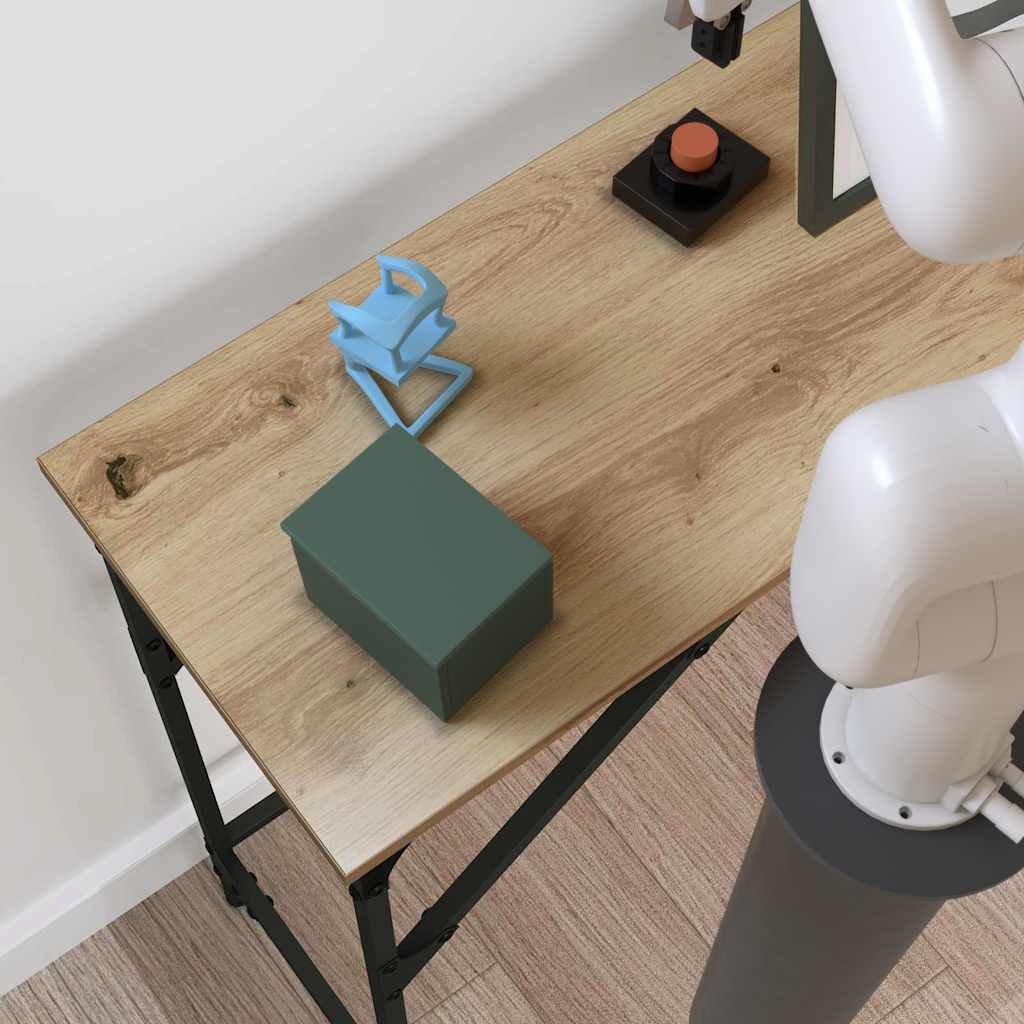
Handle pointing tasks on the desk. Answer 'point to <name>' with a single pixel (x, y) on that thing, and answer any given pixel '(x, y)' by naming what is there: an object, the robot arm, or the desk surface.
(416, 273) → the chair
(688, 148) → the button
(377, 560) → the box lid
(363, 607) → the green box
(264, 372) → the desk surface
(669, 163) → the push button base
